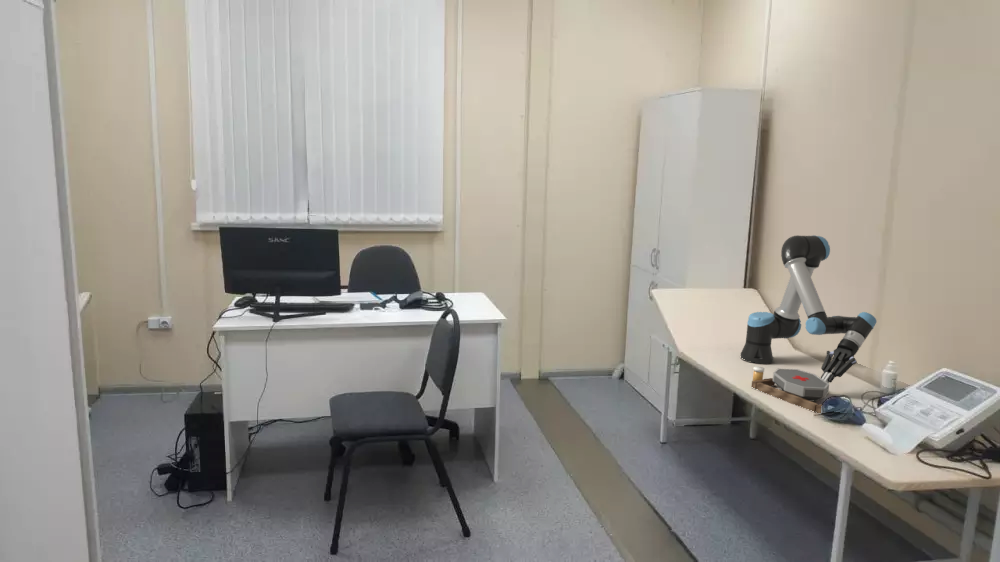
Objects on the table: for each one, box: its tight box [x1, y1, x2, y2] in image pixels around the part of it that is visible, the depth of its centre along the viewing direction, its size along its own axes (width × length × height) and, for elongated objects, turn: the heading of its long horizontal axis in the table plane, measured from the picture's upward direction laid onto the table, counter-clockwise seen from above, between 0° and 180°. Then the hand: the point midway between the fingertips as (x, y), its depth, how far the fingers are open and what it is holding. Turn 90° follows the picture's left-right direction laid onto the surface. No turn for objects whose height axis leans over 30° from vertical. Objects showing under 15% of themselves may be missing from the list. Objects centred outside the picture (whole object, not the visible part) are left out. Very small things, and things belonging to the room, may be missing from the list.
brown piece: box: [750, 377, 823, 414], centre depth 266 cm, size 33×12×3 cm, turn 28°
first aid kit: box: [772, 368, 830, 402], centre depth 271 cm, size 18×8×25 cm
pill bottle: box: [752, 366, 765, 381], centre depth 283 cm, size 4×4×7 cm
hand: (821, 386), depth 273 cm, fingers closed
